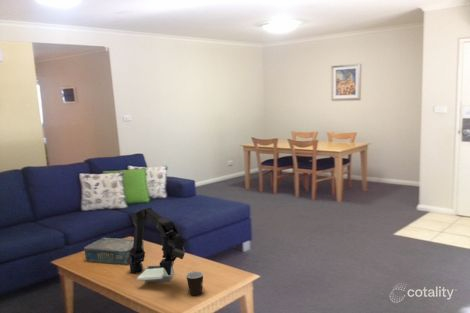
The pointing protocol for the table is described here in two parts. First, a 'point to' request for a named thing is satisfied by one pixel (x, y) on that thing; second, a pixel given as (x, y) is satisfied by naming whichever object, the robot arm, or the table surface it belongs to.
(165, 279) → the tub
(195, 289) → the coffee mug
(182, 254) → the robot arm
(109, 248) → the metal box
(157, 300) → the table surface
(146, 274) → the cube on cream block
